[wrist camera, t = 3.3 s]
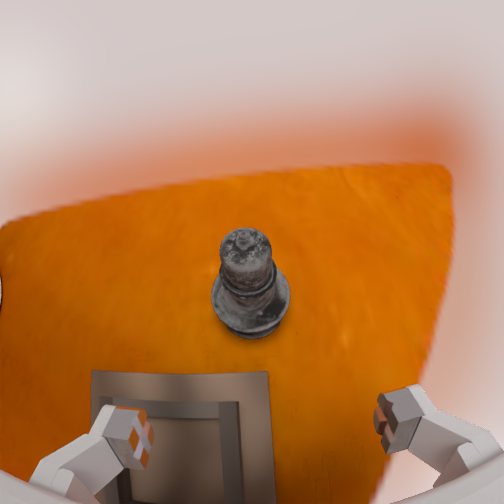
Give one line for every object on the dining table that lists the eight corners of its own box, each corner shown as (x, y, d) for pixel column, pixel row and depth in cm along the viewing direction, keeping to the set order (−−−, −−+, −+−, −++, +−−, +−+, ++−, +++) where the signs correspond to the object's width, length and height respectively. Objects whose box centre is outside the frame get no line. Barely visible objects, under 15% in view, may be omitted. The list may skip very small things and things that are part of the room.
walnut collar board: (106, 521, 16) (87, 531, 13) (97, 371, 23) (76, 364, 20) (278, 536, 16) (280, 553, 13) (267, 372, 23) (267, 366, 20)
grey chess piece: (222, 275, 27) (196, 186, 17) (288, 279, 27) (302, 189, 16) (213, 339, 24) (175, 283, 14) (285, 344, 24) (302, 291, 14)
